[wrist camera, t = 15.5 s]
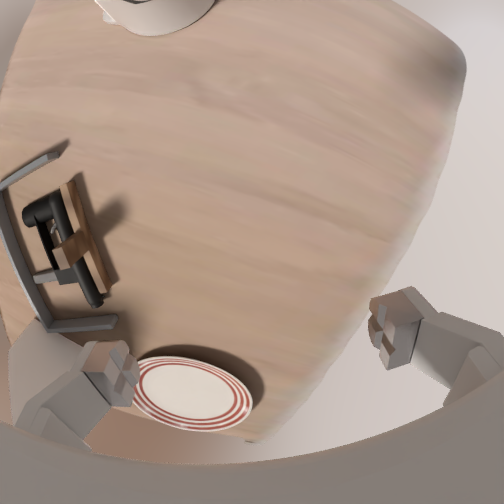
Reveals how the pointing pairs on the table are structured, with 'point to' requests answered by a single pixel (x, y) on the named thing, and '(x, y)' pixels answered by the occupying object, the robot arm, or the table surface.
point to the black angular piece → (37, 217)
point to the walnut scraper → (80, 241)
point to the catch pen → (3, 228)
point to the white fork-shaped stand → (37, 363)
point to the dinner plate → (190, 394)
